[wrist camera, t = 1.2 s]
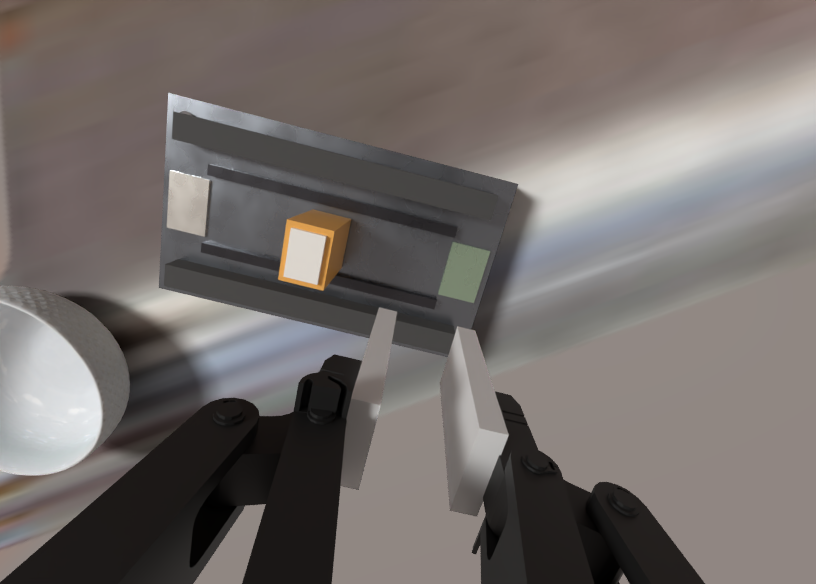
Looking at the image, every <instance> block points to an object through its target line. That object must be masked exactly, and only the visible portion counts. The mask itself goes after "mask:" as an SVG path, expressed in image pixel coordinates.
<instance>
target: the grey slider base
mask: <svg viewBox="0 0 816 584" xmlns="http://www.w3.org/2000/svg"><path fill="white" fill-rule="evenodd" d="M173 111H174V112H178V113H183V114H187V115H191V116H195V117H199V118H203V119H207V120H211V121H214V122H218V123H222V124H226V125H230V126H234V127H238V128H242V129H245V130H249V131H253V132H257V133H261V134H265V135H269V136H272V137H276V138H280V139H284V140H288V141H292V142H296V143H299V144H303V145H307V146H311V147H315V148H319V149H323V150H326V151H330V152H334V153H338V154H342V155H346V156H350V157H354V158H357V159H361V160H365V161H369V162H373V163H377V164H381V165H384V166H388V167H392V168H396V169H400V170H404V171H408V172H411V173H415V174H419V175H423V176H427V177H431V178H435V179H439V180H442V181H446V182H450V183H454V184H458V185H462V186H466V187H469V188H473V189H477V190H481V191H485V192H489V193H493V194H496V195H498V199H497V202H496V206H495V209H494V212H493V215H492V218H491V221H490V220H486V219H482V218H479V217H475V216H471V215H467V214H463V213H459V212H455V211H451V210H447V209H443V208H440V207H436V206H432V205H428V204H424V203H420V202H416V201H412V200H408V199H404V198H400V197H397V196H393V195H389V194H385V193H381V192H377V191H373V190H369V189H365V188H361V187H357V186H354V185H350V184H346V183H342V182H338V181H334V180H330V179H326V178H322V177H318V176H315V175H311V174H307V173H303V172H299V171H295V170H291V169H287V168H283V167H279V166H275V165H272V164H268V163H264V162H260V161H256V160H252V159H248V158H244V157H240V156H236V155H232V154H229V153H225V152H221V151H217V150H213V149H209V148H205V147H201V146H197V145H193V144H190V143H186V142H182V141H178V140H174V139H172V123H173ZM517 186H518V184H516V183H512V182H508V181H504V180H501V179H497V178H493V177H489V176H485V175H481V174H478V173H474V172H470V171H466V170H462V169H458V168H455V167H451V166H447V165H443V164H439V163H435V162H431V161H428V160H424V159H420V158H416V157H412V156H408V155H405V154H401V153H397V152H393V151H389V150H385V149H382V148H378V147H374V146H370V145H366V144H362V143H359V142H355V141H351V140H347V139H343V138H339V137H336V136H332V135H328V134H324V133H320V132H316V131H313V130H309V129H305V128H301V127H297V126H293V125H290V124H286V123H282V122H278V121H274V120H270V119H266V118H263V117H259V116H255V115H251V114H247V113H243V112H240V111H236V110H232V109H228V108H224V107H220V106H217V105H213V104H209V103H205V102H201V101H197V100H194V99H190V98H186V97H182V96H178V95H174V94H171V93H168V113H167V133H166V153H165V174H164V194H163V215H162V235H161V255H160V276H159V288H162V289H167V290H171V291H175V292H179V293H183V294H187V295H192V296H196V297H200V298H204V299H208V300H212V301H216V302H221V303H225V304H229V305H233V306H237V307H241V308H246V309H250V310H254V311H258V312H262V313H266V314H271V315H275V316H279V317H283V318H287V319H291V320H295V321H300V322H304V323H308V324H312V325H316V326H320V327H325V328H329V329H333V330H337V331H341V332H345V333H350V334H354V335H358V336H362V337H366V338H370V336H369V335H365V334H361V333H357V332H353V331H349V330H345V329H340V328H336V327H332V326H328V325H324V324H320V323H315V322H311V321H307V320H303V319H299V318H295V317H291V316H286V315H282V314H278V313H274V312H270V311H266V310H261V309H257V308H253V307H249V306H245V305H241V304H237V303H232V302H228V301H224V300H220V299H216V298H212V297H207V296H203V295H199V294H195V293H191V292H187V291H183V290H178V289H174V288H170V287H166V286H164V274H165V264H167V263H169V262H172V261H175V260H177V259H181V260H185V261H190V262H194V263H198V264H202V265H206V266H210V267H214V268H218V269H222V270H226V271H231V272H235V273H239V274H243V275H247V276H251V277H255V278H259V279H263V280H267V281H272V282H276V283H280V284H284V285H288V286H292V287H296V288H300V289H304V290H308V291H313V292H317V293H321V294H325V295H329V296H333V297H337V298H341V299H345V300H349V301H354V302H358V303H362V304H366V305H370V306H374V307H378V308H379V307H380V308H384V309H389V310H393V311H397V312H399V313H403V314H407V315H411V316H415V317H419V318H423V319H427V320H431V321H436V322H440V323H444V324H448V325H452V326H454V330H455V333H456V329H457V326H458V327H462V328H466V329H472V325H473V322H474V319H475V316H476V313H477V310H478V307H479V304H480V301H481V298H482V295H483V291H484V288H485V285H486V282H487V279H488V276H489V273H490V270H491V267H492V264H493V261H494V257H495V254H496V251H497V248H498V245H499V242H500V239H501V236H502V233H503V230H504V227H505V223H506V220H507V217H508V214H509V211H510V208H511V205H512V202H513V199H514V196H515V193H516V189H517ZM312 209H314V210H318V211H322V212H326V213H330V214H334V215H338V216H342V217H346V218H350V219H351V224H350V229H349V234H348V239H347V244H346V249H345V254H344V259H343V264H342V268H341V269H340V271H339V272H338V273H337V274H336V276H335V277H334V278H333V279H332V281H331V282H330V283H329V284H328V286H327V287H326V288H325V289H324V291H322V290H318V289H314V288H310V287H306V286H302V285H298V284H293V283H289V282H285V281H281V280H278V276H279V270H280V263H281V256H282V249H283V243H284V236H285V229H286V222H287V219H289V218H292V217H294V216H297V215H299V214H302V213H305V212H307V211H310V210H312ZM392 344H395V345H399V346H404V347H408V348H412V349H416V350H420V351H424V352H429V353H433V354H437V355H441V356H445V357H448V354H444V353H440V352H436V351H432V350H428V349H423V348H419V347H415V346H411V345H407V344H403V343H399V342H394V341H392Z"/></svg>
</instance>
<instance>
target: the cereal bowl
mask: <svg viewBox="0 0 816 584" xmlns="http://www.w3.org/2000/svg"><path fill="white" fill-rule="evenodd" d="M129 387H130V380H129V372H128V366H127V363H126V360H125V357H124V355H123V352H122V351H121V348H120V347H119V344H118V343H117V342H116V340H115V339H114V337H113V335H111V333H110V331H108V329H107V328H106V327H105V326H104V325H103V324H102V323H101V322H100V321H99V320H98V319H97V318H96V317H95V316H93V315H92V313H90V312H88V311H87V310H86V309H85V308H83V307H81V306H79V305H77V304H76V303H74V302H72V301H69V300H68V299H66V298H64V297H61V296H59V295H57V294H54V293H50V292H47V291H45V290H39V289H36V288H28V287H18V286H0V471H2V472H7V473H11V474H18V475H47V474H52V473H56V472H60V471H63V470H66V469H68V468H71V467H73V466H75V465H76V464H78V463H79V462H81V461H83V460H84V459H85V458H86V457H88V456H89V455H90V454H91V453H92V452H93V451H95V450H96V449H97V448H98V447H99V446H100V445H101V444H102V443H104V442H105V440H106V439H107V438H108V437H109V436H110V435H111V433H112V432H113V430H114V429H116V427H117V425H118V423H119V422H120V421H121V418H122V416H123V415H124V412H125V409H126V407H127V402H128V400H129V393H130V388H129Z"/></svg>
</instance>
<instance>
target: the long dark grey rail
mask: <svg viewBox="0 0 816 584" xmlns="http://www.w3.org/2000/svg"><path fill="white" fill-rule="evenodd" d="M172 139H174V140H178V141H182V142H186V143H190V144H193V145H197V146H201V147H205V148H209V149H213V150H217V151H221V152H225V153H229V154H232V155H236V156H240V157H244V158H248V159H252V160H256V161H260V162H264V163H268V164H272V165H275V166H279V167H283V168H287V169H291V170H295V171H299V172H303V173H307V174H311V175H315V176H318V177H322V178H326V179H330V180H334V181H338V182H342V183H346V184H350V185H354V186H357V187H361V188H365V189H369V190H373V191H377V192H381V193H385V194H389V195H393V196H397V197H400V198H404V199H408V200H412V201H416V202H420V203H424V204H428V205H432V206H436V207H440V208H443V209H447V210H451V211H455V212H459V213H463V214H467V215H471V216H475V217H479V218H482V219H486V220H490V221H491V218H492V215H493V212H494V209H495V206H496V202H497V199H498V195H496V194H493V193H489V192H485V191H481V190H477V189H473V188H469V187H466V186H462V185H458V184H454V183H450V182H446V181H442V180H439V179H435V178H431V177H427V176H423V175H419V174H415V173H411V172H408V171H404V170H400V169H396V168H392V167H388V166H384V165H381V164H377V163H373V162H369V161H365V160H361V159H357V158H354V157H350V156H346V155H342V154H338V153H334V152H330V151H326V150H323V149H319V148H315V147H311V146H307V145H303V144H299V143H296V142H292V141H288V140H284V139H280V138H276V137H272V136H269V135H265V134H261V133H257V132H253V131H249V130H245V129H242V128H238V127H234V126H230V125H226V124H222V123H218V122H214V121H211V120H207V119H203V118H199V117H195V116H191V115H187V114H183V113H178V112H174V111H173V123H172Z"/></svg>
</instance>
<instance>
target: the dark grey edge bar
mask: <svg viewBox="0 0 816 584" xmlns="http://www.w3.org/2000/svg"><path fill="white" fill-rule="evenodd" d="M164 286H166V287H170V288H174V289H178V290H183V291H187V292H191V293H195V294H199V295H203V296H207V297H212V298H216V299H220V300H224V301H228V302H232V303H237V304H241V305H245V306H249V307H253V308H257V309H261V310H266V311H270V312H274V313H278V314H282V315H286V316H291V317H295V318H299V319H303V320H307V321H311V322H315V323H320V324H324V325H328V326H332V327H336V328H340V329H345V330H349V331H353V332H357V333H361V334H365V335H369V336H370V335H371V332H372V328H373V325H374V322H375V319H376V316H377V312H378V309H379V308H378V307H374V306H370V305H366V304H362V303H358V302H354V301H349V300H345V299H341V298H337V297H333V296H329V295H325V294H321V293H317V292H313V291H308V290H304V289H300V288H296V287H292V286H288V285H284V284H280V283H276V282H272V281H267V280H263V279H259V278H255V277H251V276H247V275H243V274H239V273H235V272H231V271H226V270H222V269H218V268H214V267H210V266H206V265H202V264H198V263H194V262H190V261H185V260H181V259H177V260H175V261H172V262H169V263H167V264H165V274H164ZM454 336H455V330H454V326H452V325H448V324H444V323H440V322H436V321H431V320H427V319H423V318H419V317H415V316H411V315H407V314H403V313H399V312H397V316H396V321H395V327H394V333H393V338H392V341H394V342H399V343H403V344H407V345H411V346H415V347H419V348H423V349H428V350H432V351H436V352H440V353H444V354H448V355H449V352H450V349H451V345H452V342H453V339H454Z"/></svg>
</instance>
